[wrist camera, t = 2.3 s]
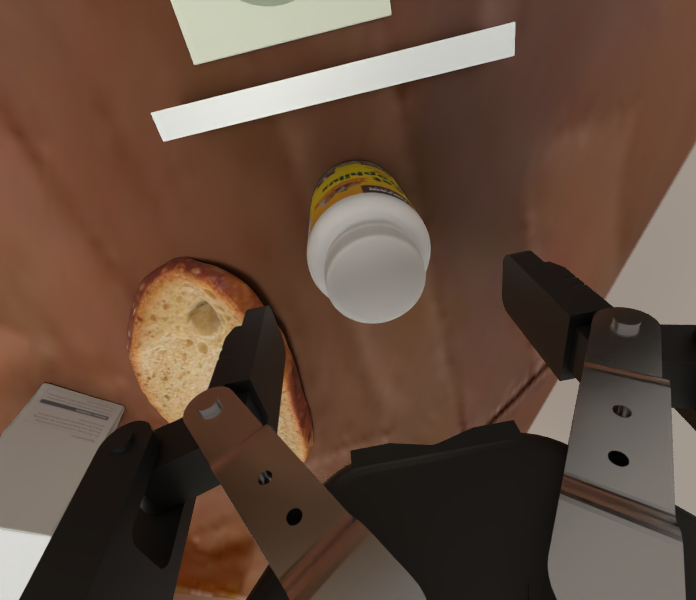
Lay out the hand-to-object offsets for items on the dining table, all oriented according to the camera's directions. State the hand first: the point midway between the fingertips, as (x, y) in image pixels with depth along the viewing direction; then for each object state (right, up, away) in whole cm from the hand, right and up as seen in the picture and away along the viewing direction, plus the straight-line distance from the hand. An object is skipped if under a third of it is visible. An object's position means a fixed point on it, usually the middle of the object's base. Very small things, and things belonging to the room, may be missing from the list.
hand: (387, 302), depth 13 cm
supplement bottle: (-1, +6, +11) cm, 12 cm away
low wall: (-2, +12, +7) cm, 14 cm away
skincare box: (-25, -11, +19) cm, 34 cm away
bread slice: (-10, -6, +18) cm, 21 cm away
